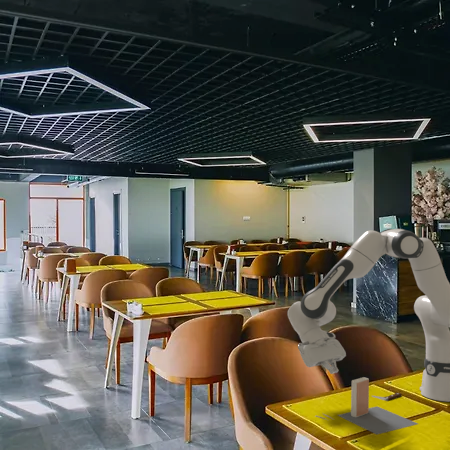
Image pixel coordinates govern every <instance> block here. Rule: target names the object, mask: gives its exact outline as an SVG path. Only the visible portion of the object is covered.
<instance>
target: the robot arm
mask: <svg viewBox="0 0 450 450" xmlns="http://www.w3.org/2000/svg"><path fill="white" fill-rule="evenodd" d="M384 255H385V256H386V255H387V256H390V257H392V258H398V259H399V258H400V259H407V260H408V261H409V263H410V267H411V270H412V273H413V276H414V279H415V282H416V285H417V287H418V289H419V290H420V291H421V292H422V293H423V294H424V295H421V296H419V297H417V298H416V300H415V302H414V303H413V304H414V305H413V310H414V313H415V314H416V316H417V317H418V319H419V320H420V322H421V326H422V329H423V333H424V339H425V357H424V361H423V362H424V363H423V364H424V365H423V366H424V368H425V369H424V370H423V372H422V379H421V381H422V382H421V386H419V391H421V392H420V394H421V395H422V396H424V398H425V397H426V398H427V399H430V400H434V401H438V402H450V282H449V280H448V278H447V276H446V273H445V272H446V271H445V269H444V267H443V264H442V260H441V258H440V255H439V253H438V251H437V248H436V247H435V245H434V243H433V241H432V240H431V239H430V238H428V237H427V238H426V237H419V236H418V235H417V234H415V233H414V232H413V231H411V230H407V229H403V228H395V229H394V228H387V229H384V230H382V231H380V232H379V231H376V230H372V229H370V230H366V231H365V232H364V233H363V234H361V235H360V237H358V238H357V239H356V240H355V242H354V243H353V244H352V245H351V246H350V248H349V249H348V250H347V252H346V253H345V254H344V256H343V257H342V258H341V259H340V260H339V261H338V262H337V263H336V264H335V265H334V266H333V267H332V268H331V269H330V271H329V272H328V273H327V274H326V275H325V276H324V278H323V279H322V280H320V282H318V285H317V286H315V287H314V288H312V289H311V290H308V291H307V292H306V293H305V294H304V295H303V296H302V298H301V300H300V301H296V302H294V303H292V304H291V306H289V308H288V310H287V318H288V320H289V322H290V324H291V327H292V328H293V330H294V331H295V332H296V333H297V334H298V337H299V339H300V341H301V342H299V343H298V345H297V350H298V351H299V353H300V357H301V359H302V361H303V363H304V366H306V367H308V368H314V367H317V366H321V365H322V366H323V368H324V369H326V370H327V371H328V372H329V374H330V375H333V374H337V373H338V372H339V369H338V367H337V362H340V361H342V360H343V359H344V358H345V357H347V353H346V350H345V349H344V347H343V346H342V344H341V343H340V341H339V340H338V339H336V334H334V333H333V332H329V331H327V330H323V329H322V328H321V327H323V326H325V325H327V324H329V323H331V322H332V321H334V319H335V318H336V316H337V308H336V305H335V304H334V303H333V302H332V301H331V298H332V297H333V296H334V294H335V292H337V290H338V289H339V288H340V287H341V286H342V285H343V284H344V283H345V282H346V281H348V280H351V279H361V278H364V276H366V275H367V274H368V273H369V272H370V271H371V270H372V269H373V268H374V266H375V265H376V264H377V262H378V261H379V259H380V258H381V257H382V256H384Z"/></svg>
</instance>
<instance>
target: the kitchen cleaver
mask: <svg viewBox="0 0 450 450" xmlns="http://www.w3.org/2000/svg"><path fill="white" fill-rule="evenodd" d="M402 396H403V395H402V393H401V392H395V393H394V394H393V393H392V394H390V395H388V396H378V395H377V396H376V395H371V397H372V398H376V399H379V400H382V401H386V402H389V401H391V400H394V399H398V398H400V397H402Z"/></svg>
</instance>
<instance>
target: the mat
mask: <svg viewBox="0 0 450 450" xmlns="http://www.w3.org/2000/svg"><path fill="white" fill-rule="evenodd" d="M337 416H338V417H341V418H342V419H344V420H346V421H348V422H350V423H352V424H354V425H356V426H358V427H361V428H363V429H364V430H367V431H369V432H371V433H373V434H375V435H379V434H380V435H381V434H385V433H388V432H391V431H396V430H400V429H404V428H408V427H411V426H415V425H419V423H417V422H415V421H413V420H411V419H408V418H407V417H406V418H405V417H403V416H401V415H399V414H396V413H394V412H392V411H389V410H387V409H384V408H382V407H380V406H373V407H372V406H371V407H369V409H368V413H367V414H364V415H362V416H359V417H353V416H351V411H350V412H346V413H340V414H337Z"/></svg>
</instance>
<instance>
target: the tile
mask: <svg viewBox="0 0 450 450" xmlns="http://www.w3.org/2000/svg"><path fill="white" fill-rule="evenodd" d="M369 386H370V380H369V378H368V377H364V376H363V377H359V378H356V379H352V380H351V388H350V389H351V390H350V391H351V393H350V394H351V397H350V399H351V401H350V402H351V403H350V404H351V405H350V407H351V409H350V412H351V416H353V417H359V416H362V415H364V414H367V413H368V409H369V408H370V407H369V400H370V398H369V393H370V390H369V389H370V387H369Z"/></svg>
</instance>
